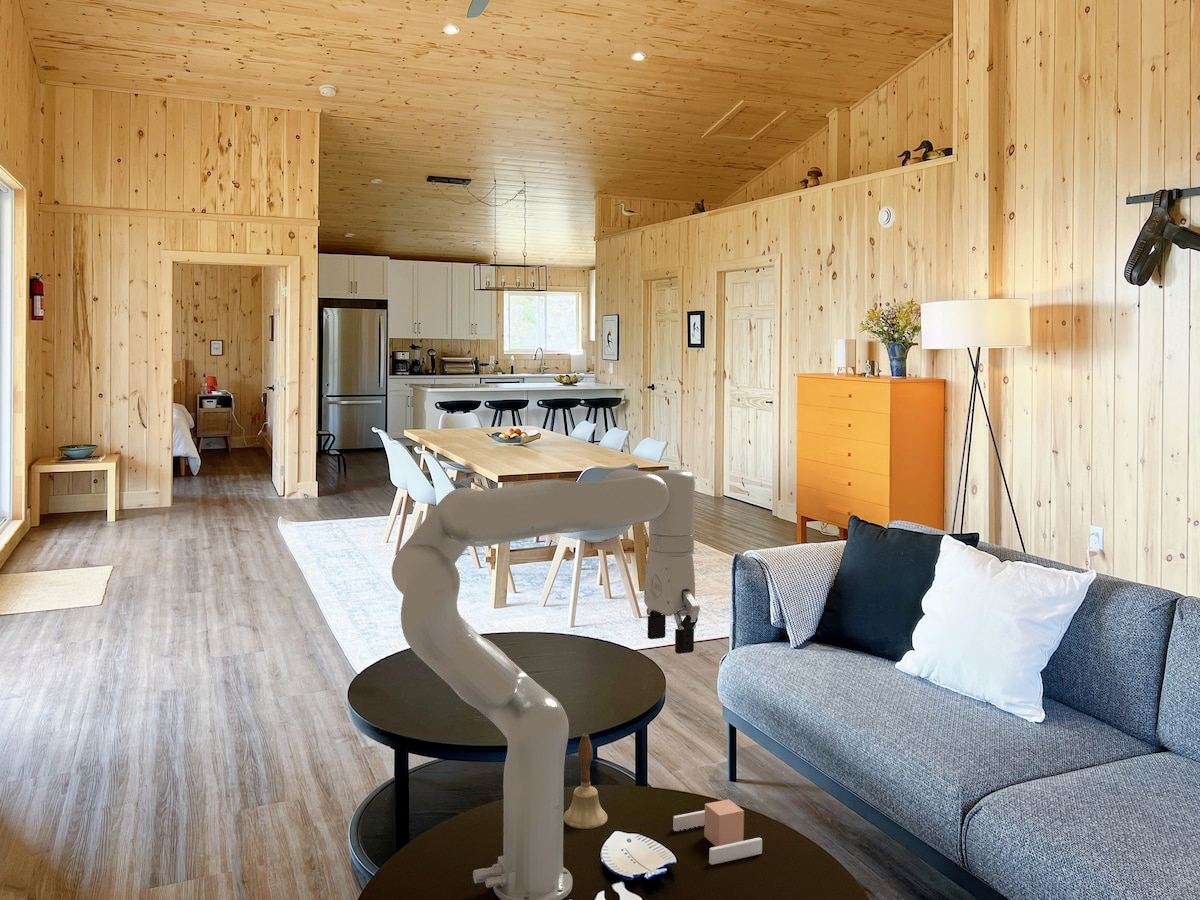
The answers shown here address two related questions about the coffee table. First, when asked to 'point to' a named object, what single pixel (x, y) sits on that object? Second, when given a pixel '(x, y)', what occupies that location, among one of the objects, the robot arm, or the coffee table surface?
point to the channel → (723, 851)
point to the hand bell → (585, 794)
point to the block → (723, 822)
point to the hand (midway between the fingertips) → (670, 645)
